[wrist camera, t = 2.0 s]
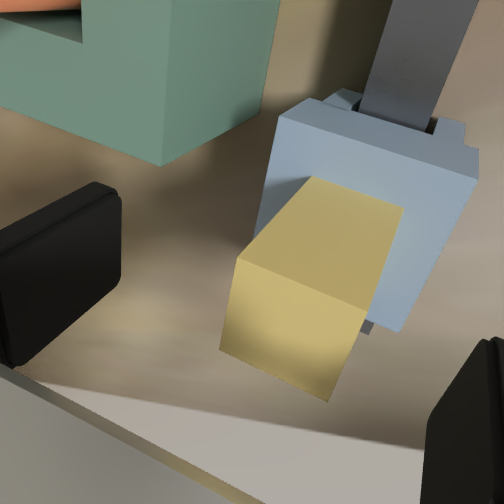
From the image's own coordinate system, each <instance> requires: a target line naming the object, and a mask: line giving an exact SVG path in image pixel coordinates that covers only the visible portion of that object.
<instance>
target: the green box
mask: <svg viewBox="0 0 504 504" xmlns="http://www.w3.org/2000/svg"><path fill="white" fill-rule="evenodd" d="M279 5H280V0H81V9H72V10H48V11H24V12H0V106H2V107H4V108H7V109H10V110H12V111H15V112H18V113H20V114H23V115H25V116H28V117H31V118H33V119H36V120H39V121H41V122H44V123H46V124H49V125H52V126H54V127H57V128H60V129H62V130H65V131H67V132H70V133H73V134H75V135H78V136H81V137H83V138H86V139H89V140H91V141H94V142H96V143H99V144H102V145H104V146H107V147H110V148H112V149H115V150H117V151H120V152H123V153H125V154H128V155H131V156H133V157H136V158H139V159H141V160H144V161H146V162H149V163H152V164H154V165H157V166H160V167H162V166H164V165H166V164H168V163H169V162H171V161H173V160H175V159H177V158H179V157H180V156H182V155H184V154H186V153H188V152H189V151H191V150H193V149H195V148H197V147H199V146H200V145H202V144H204V143H206V142H208V141H210V140H211V139H213V138H215V137H217V136H219V135H221V134H222V133H224V132H226V131H228V130H230V129H232V128H233V127H235V126H237V125H239V124H241V123H243V122H244V121H246V120H248V119H250V118H252V117H254V116H255V115H257V114H259V111H260V106H261V100H262V95H263V90H264V84H265V79H266V74H267V68H268V63H269V58H270V52H271V47H272V42H273V36H274V31H275V26H276V20H277V15H278V10H279Z"/></svg>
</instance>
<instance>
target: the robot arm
mask: <svg viewBox="0 0 504 504" xmlns="http://www.w3.org/2000/svg"><path fill="white" fill-rule="evenodd" d="M121 214H122V202H121V198H120V197H119V196H118V193H117V191H116V190H115V189H114V188H111V187H109V186H106V185H104V184H101V183H98V182H92V183H90V184H88V185H86V186H84V187H82V188H80V189H78V190H76V191H74V192H72V193H70V194H69V195H67V196H65V197H63V198H61V199H59V200H57V201H55V202H53V203H51V204H49V205H47V206H45V207H44V208H42V209H40V210H38V211H36V212H34V213H32V214H30V215H28V216H26V217H24V218H22V219H20V220H18V221H17V222H15V223H13V224H11V225H9V226H7V227H5V228H3V229H1V230H0V504H265V503H263V502H261V501H259V500H257V499H256V498H254V497H252V496H250V495H248V494H246V493H244V492H243V491H240V490H239V489H237V488H235V487H233V486H231V485H229V484H227V483H226V482H224V481H222V480H220V479H218V478H216V477H215V476H213V475H211V474H209V473H207V472H205V471H203V470H201V469H200V468H198V467H196V466H194V465H192V464H190V463H188V462H187V461H185V460H183V459H181V458H179V457H177V456H175V455H173V454H171V453H170V452H168V451H166V450H164V449H162V448H160V447H158V446H156V445H155V444H153V443H151V442H149V441H147V440H145V439H143V438H141V437H140V436H138V435H136V434H134V433H132V432H130V431H128V430H126V429H124V428H123V427H121V426H119V425H117V424H115V423H113V422H111V421H109V420H107V419H106V418H104V417H102V416H100V415H98V414H96V413H94V412H92V411H91V410H89V409H87V408H85V407H83V406H81V405H79V404H77V403H75V402H73V401H71V400H70V399H68V398H66V397H64V396H62V395H60V394H58V393H56V392H54V391H52V390H50V389H49V388H47V387H45V386H43V385H41V384H39V383H37V382H35V381H33V380H31V379H30V378H28V377H26V376H24V375H22V374H20V373H18V372H16V371H14V370H12V369H13V368H15V367H16V366H22V365H24V364H25V363H27V362H28V361H29V360H30V359H32V358H33V357H34V356H35V355H36V354H37V353H39V352H40V351H41V350H42V349H43V348H44V347H46V346H47V345H48V344H49V343H50V342H51V341H53V340H54V339H55V338H56V337H57V336H59V335H60V334H61V333H62V332H63V331H64V330H66V329H67V328H68V327H69V326H70V325H71V324H73V323H74V322H75V321H76V320H77V319H78V318H80V317H81V316H82V315H83V314H84V313H85V312H87V311H88V310H89V309H90V308H91V307H92V306H94V305H95V304H96V303H97V302H98V301H100V300H101V299H102V298H103V297H104V296H105V295H107V294H108V293H109V292H110V291H111V290H112V289H114V288H115V287H116V286H117V284H118V282H119V280H120V277H121ZM420 497H421V498H420V504H504V339H501V338H499V337H493V338H492V339H491V340H490V341H488V340H485V339H482V340H480V341H479V343H478V344H477V346H476V347H475V349H474V350H473V352H472V353H471V354H470V356H469V357H468V359H467V360H466V362H465V363H464V365H463V366H462V368H461V369H460V371H459V372H458V374H457V375H456V377H455V378H454V380H453V381H452V383H451V384H450V386H449V387H448V388H447V390H446V391H445V393H444V394H443V396H442V397H441V399H440V400H439V402H438V403H437V405H436V406H435V408H434V409H433V411H432V412H431V414H430V417H429V419H428V423H427V429H426V440H425V451H424V463H423V474H422V485H421V496H420Z"/></svg>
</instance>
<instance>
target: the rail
mask: <svg viewBox="0 0 504 504" xmlns="http://www.w3.org/2000/svg"><path fill="white" fill-rule="evenodd" d="M478 1H479V0H393V2H392V5H391V8H390V12H389V15H388V18H387V21H386V24H385V27H384V31H383V34H382V37H381V40H380V43H379V46H378V49H377V53H376V56H375V59H374V62H373V65H372V68H371V72H370V75H369V78H368V81H367V84H366V87H365V91H364V94H363V97H362V100H361V103H360V106H359V110H358V113H361V114H365V115H368V116H371V117H374V118H378V119H381V120H384V121H388V122H391V123H394V124H397V125H401V126H404V127H407V128H411V129H414V130H417V131H421V132H425V130H426V127H427V125H428V122H429V120H430V117H431V115H432V113H433V110H434V108H435V105H436V103H437V101H438V98H439V96H440V93H441V91H442V88H443V86H444V84H445V81H446V79H447V76H448V74H449V72H450V69H451V67H452V64H453V62H454V59H455V57H456V55H457V52H458V50H459V47H460V45H461V42H462V40H463V38H464V35H465V33H466V30H467V28H468V26H469V23H470V21H471V18H472V16H473V13H474V11H475V9H476V6H477V4H478ZM373 324H374V323H373V322H371V321H369V320H366V319H365V320H364V322H363V324H362V326H361V329H360V332H362V333H365V334H367V335H369V333H370V331H371V329H372V327H373Z"/></svg>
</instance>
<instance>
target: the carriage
mask: <svg viewBox="0 0 504 504" xmlns="http://www.w3.org/2000/svg"><path fill="white" fill-rule="evenodd" d="M362 97H363V94H361V93H358V92H355V91H351V90H348V89H344V88H341V89H339V90H338V91H336V92H335V93H333V94H332V95H331V96H329V97H328V98H326V99H325V100H323V101H319V100H315V99H312V98H307V99H306V100H304V101H302V102H301V103H299V104H298V105H296V106H294V107H293V108H291V109H289V110H288V111H286V112H284V113H283V114H281V115H280V116H279V119H278V123H277V128H276V133H275V137H274V142H273V146H272V151H271V156H270V160H269V165H268V170H267V174H266V179H265V184H264V188H263V193H262V198H261V202H260V207H259V212H258V216H257V221H256V226H255V230H254V235H253V240H252V242H251V243H250V244H249V245H248V246H247V247H246V248H245V249H244V250H243V251H242V252H241V254H240V255H239V256H238V257H237V261H236V266H235V271H234V276H233V281H232V286H231V291H230V296H229V301H228V307H227V312H226V317H225V322H224V327H223V332H222V337H221V342H220V347H219V350H220V351H223V352H225V353H227V354H229V355H231V356H233V357H235V358H237V359H239V360H241V361H243V362H245V363H247V364H250V365H252V366H254V367H256V368H258V369H260V370H262V371H264V372H266V373H268V374H270V375H272V376H274V377H276V378H279V379H281V380H283V381H285V382H287V383H289V384H291V385H293V386H295V387H297V388H299V389H301V390H303V391H305V392H308V393H310V394H312V395H314V396H316V397H318V398H320V399H322V400H324V401H326V402H328V400H329V398H330V396H331V394H332V391H333V389H334V387H335V385H336V382H337V380H338V378H339V376H340V373H341V371H342V369H343V367H344V364H345V362H346V360H347V358H348V355H349V353H350V351H351V349H352V346H353V344H354V342H355V340H356V338H357V335H358V333H359V331H360V329H361V326H362V324H363V322H364V320H365V319H366V320H369V321H371V322H373V323H376V324H378V325H380V326H383V327H385V328H387V329H390V330H392V331H394V332H397V333H399V332H400V330H401V328H402V326H403V324H404V322H405V320H406V318H407V317H408V315H409V313H410V311H411V309H412V307H413V305H414V303H415V301H416V299H417V297H418V295H419V293H420V291H421V290H422V288H423V286H424V284H425V282H426V280H427V278H428V276H429V274H430V272H431V270H432V268H433V266H434V264H435V263H436V261H437V259H438V257H439V255H440V253H441V251H442V249H443V247H444V245H445V243H446V241H447V239H448V237H449V236H450V234H451V232H452V230H453V228H454V226H455V224H456V222H457V220H458V218H459V216H460V214H461V212H462V210H463V209H464V207H465V205H466V203H467V201H468V199H469V197H470V195H471V193H472V191H473V189H474V187H475V185H476V183H477V182H478V172H479V149H476V148H473V147H470V146H467V145H463V142H464V134H465V125H466V124H464V123H461V122H457V121H454V120H450V119H447V118H444V117H440V116H439V118H438V121H437V123H436V126H435V128H434V130H433V133H432V135H430V134H427V133H424V132H421V131H417V130H414V129H411V128H407V127H404V126H401V125H397V124H394V123H391V122H388V121H384V120H381V119H378V118H374V117H371V116H368V115H365V114H361V113H358V110H359V106H360V103H361V100H362Z"/></svg>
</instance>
